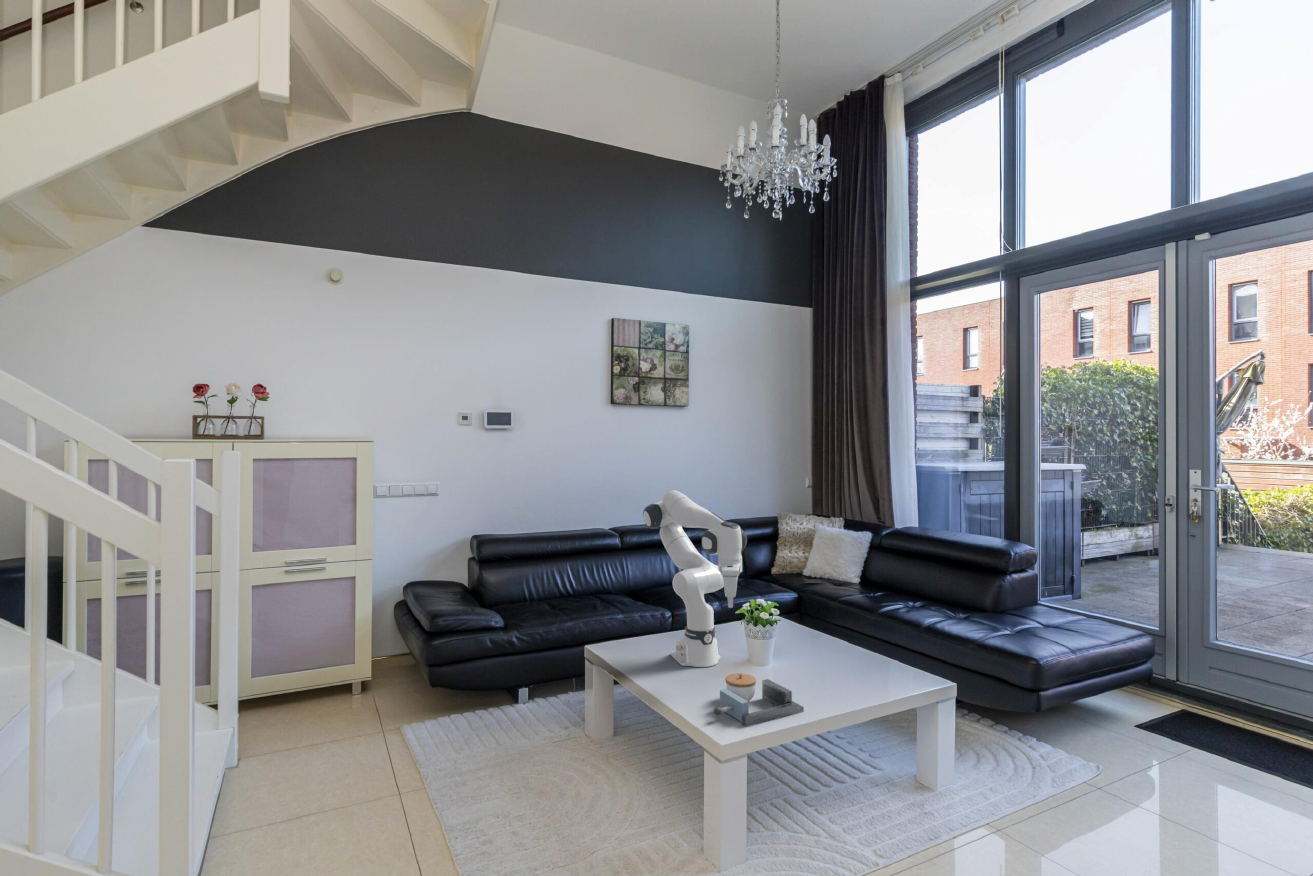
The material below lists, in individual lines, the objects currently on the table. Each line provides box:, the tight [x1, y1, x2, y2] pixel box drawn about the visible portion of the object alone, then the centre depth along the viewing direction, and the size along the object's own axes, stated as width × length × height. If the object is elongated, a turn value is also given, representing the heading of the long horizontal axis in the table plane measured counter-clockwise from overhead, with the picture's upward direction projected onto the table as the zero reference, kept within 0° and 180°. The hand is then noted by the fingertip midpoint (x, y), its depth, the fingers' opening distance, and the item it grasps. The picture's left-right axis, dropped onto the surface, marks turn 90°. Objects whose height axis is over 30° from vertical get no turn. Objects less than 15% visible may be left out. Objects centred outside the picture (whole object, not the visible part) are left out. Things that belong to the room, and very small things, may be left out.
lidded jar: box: [725, 672, 757, 704], centre depth 232 cm, size 11×11×9 cm
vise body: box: [741, 678, 805, 728], centre depth 223 cm, size 16×24×6 cm, turn 118°
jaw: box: [713, 688, 750, 723], centre depth 218 cm, size 13×10×6 cm
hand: (730, 604), depth 243 cm, fingers open, 8 cm apart
